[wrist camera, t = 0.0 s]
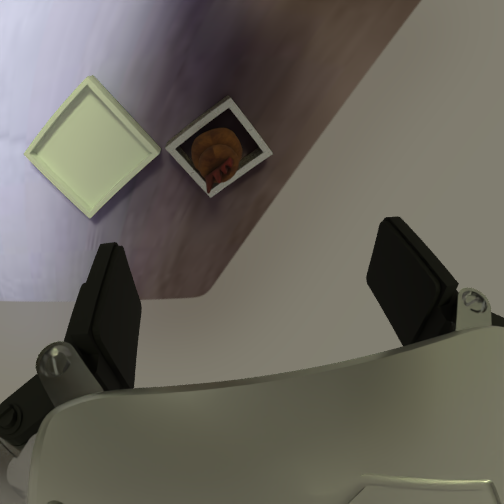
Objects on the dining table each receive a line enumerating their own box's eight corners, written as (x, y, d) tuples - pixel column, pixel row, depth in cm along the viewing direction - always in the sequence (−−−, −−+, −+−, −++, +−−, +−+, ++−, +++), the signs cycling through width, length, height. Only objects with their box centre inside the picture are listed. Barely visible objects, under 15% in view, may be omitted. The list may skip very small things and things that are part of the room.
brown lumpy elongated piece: (200, 166, 46) (201, 214, 35) (187, 133, 43) (182, 169, 31) (242, 152, 46) (259, 195, 34) (231, 118, 43) (245, 148, 31)
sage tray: (30, 148, 38) (23, 154, 37) (93, 75, 35) (87, 76, 33) (93, 211, 47) (89, 218, 45) (161, 148, 44) (159, 153, 42)
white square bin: (166, 142, 43) (165, 148, 41) (228, 94, 40) (230, 97, 38) (209, 189, 49) (210, 197, 47) (268, 147, 46) (273, 153, 44)
